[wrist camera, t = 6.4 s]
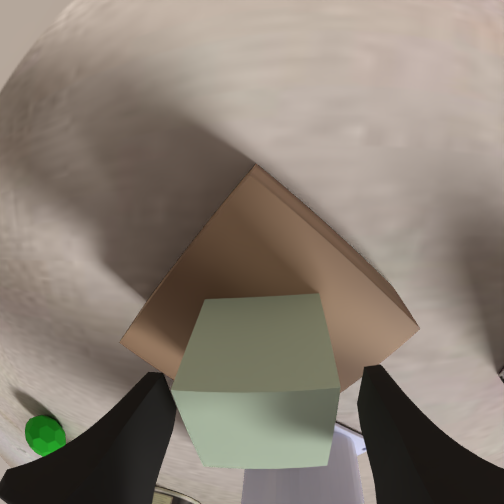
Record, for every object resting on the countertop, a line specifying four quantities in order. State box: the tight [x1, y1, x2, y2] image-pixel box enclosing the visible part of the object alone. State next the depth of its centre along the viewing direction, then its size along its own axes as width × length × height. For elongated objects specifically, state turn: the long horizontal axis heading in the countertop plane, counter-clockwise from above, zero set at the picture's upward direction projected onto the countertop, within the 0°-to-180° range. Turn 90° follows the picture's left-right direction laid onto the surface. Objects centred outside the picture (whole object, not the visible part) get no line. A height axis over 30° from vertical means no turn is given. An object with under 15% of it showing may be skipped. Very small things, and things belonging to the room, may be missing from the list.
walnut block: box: [119, 164, 420, 393], centre depth 15 cm, size 10×10×4 cm
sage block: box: [171, 293, 341, 469], centre depth 10 cm, size 4×4×5 cm
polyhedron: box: [25, 415, 66, 457], centre depth 23 cm, size 5×5×5 cm
